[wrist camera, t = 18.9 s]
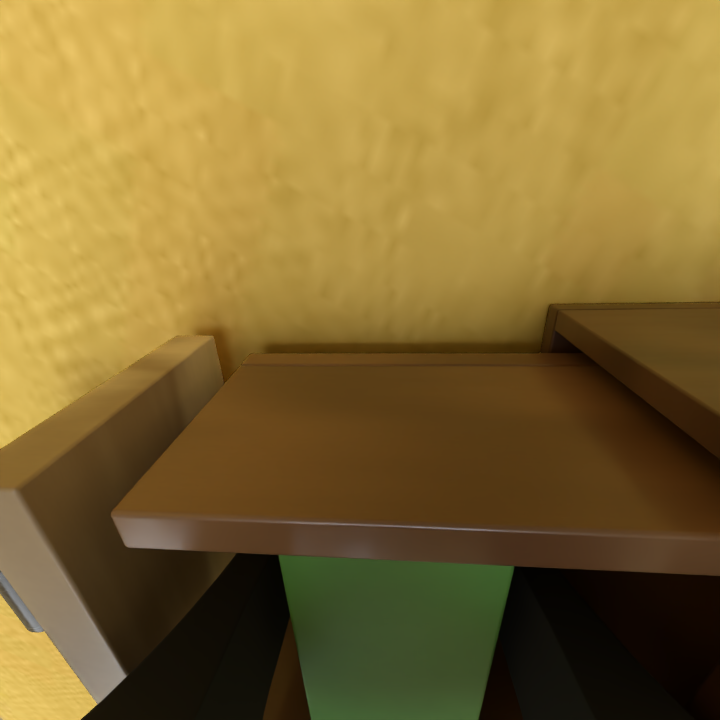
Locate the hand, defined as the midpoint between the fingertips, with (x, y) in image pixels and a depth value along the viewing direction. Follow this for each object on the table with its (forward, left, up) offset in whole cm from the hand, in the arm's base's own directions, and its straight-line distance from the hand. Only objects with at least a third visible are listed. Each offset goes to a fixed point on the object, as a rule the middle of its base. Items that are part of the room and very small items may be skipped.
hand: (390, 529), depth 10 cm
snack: (0, 0, -1) cm, 1 cm away
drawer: (-2, 0, -2) cm, 3 cm away
